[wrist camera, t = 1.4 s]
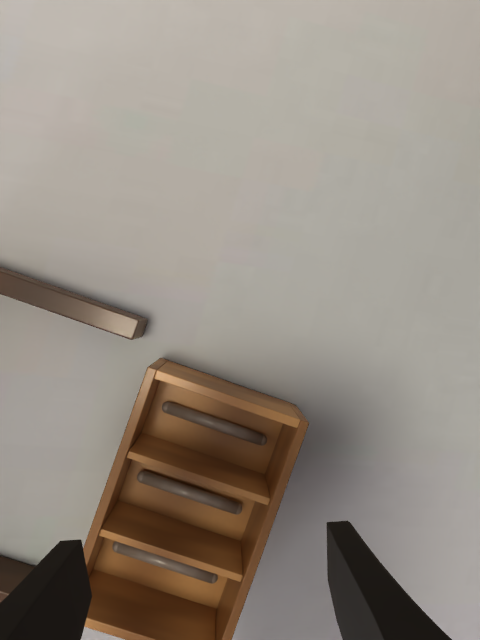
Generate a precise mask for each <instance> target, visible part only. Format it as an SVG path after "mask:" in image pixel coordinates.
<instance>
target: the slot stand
mask: <svg viewBox="0 0 480 640" xmlns="http://www.w3.org/2000/svg"><path fill="white" fill-rule="evenodd" d="M0 294H2V295H5V296H8V297H10V298H13V299H16V300H19V301H22V302H25V303H28V304H30V305H33V306H36V307H39V308H42V309H45V310H48V311H50V312H53V313H56V314H59V315H62V316H65V317H68V318H70V319H73V320H76V321H79V322H82V323H85V324H88V325H90V326H93V327H96V328H99V329H102V330H105V331H108V332H110V333H113V334H116V335H119V336H122V337H125V338H128V339H130V340H133V339H136V338H140V337H142V335H143V332H144V329H145V326H146V324H147V321H148V319H146V318H143V317H140V316H138V315H135V314H132V313H129V312H126V311H123V310H121V309H118V308H115V307H112V306H109V305H106V304H104V303H101V302H98V301H95V300H92V299H89V298H87V297H84V296H81V295H78V294H75V293H72V292H70V291H67V290H64V289H61V288H58V287H55V286H53V285H50V284H47V283H44V282H41V281H38V280H36V279H33V278H30V277H27V276H24V275H21V274H19V273H16V272H13V271H10V270H7V269H4V268H2V267H0ZM34 568H35V567H34V566H31V565H28V564H25V563H22V562H19V561H15V560H12V559H9V558H6V557H3V556H0V603H1V602H2V601H3V600H4V599H5V598H6V597H7V596H8V595H9V594H10V593H11V592H12V591H13V590H14V589H15V588H16V587H17V586H18V585H19V584H20V583H21V581H22V580H23V579H24V578H25V577H26V576H27V575H28V574H29V573H30V572H31V571H32V570H33V569H34Z"/></svg>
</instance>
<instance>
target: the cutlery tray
mask: <svg viewBox="0 0 480 640" xmlns="http://www.w3.org/2000/svg"><path fill="white" fill-rule="evenodd" d="M308 425H309V422H308V421H307V420H306V418H305V417H304V416H303V414H302V413H301V411H300V410H299V409H298V407H297V406H296V405H294V404H292V403H289V402H286V401H283V400H280V399H277V398H274V397H271V396H269V395H266V394H263V393H260V392H257V391H254V390H251V389H249V388H246V387H243V386H240V385H237V384H234V383H231V382H229V381H226V380H223V379H220V378H217V377H214V376H211V375H208V374H206V373H203V372H200V371H197V370H194V369H191V368H188V367H186V366H183V365H180V364H177V363H174V362H171V361H168V360H166V359H163V358H160V359H158V360H157V361H156V362H154V363H153V364H151V365H150V366H149V367H148V368H147V370H146V373H145V376H144V379H143V382H142V385H141V387H140V390H139V393H138V396H137V399H136V401H135V404H134V407H133V410H132V413H131V416H130V418H129V421H128V424H127V427H126V430H125V432H124V435H123V438H122V441H121V444H120V446H119V449H118V452H117V455H116V458H115V461H114V463H113V466H112V469H111V472H110V475H109V477H108V480H107V483H106V486H105V489H104V492H103V494H102V497H101V500H100V503H99V506H98V508H97V511H96V514H95V517H94V520H93V523H92V525H91V528H90V531H89V534H88V537H87V539H86V542H85V545H84V548H83V552H84V557H85V562H86V567H87V572H88V577H89V582H90V587H91V592H92V599H91V603H90V607H89V611H88V614H87V618H86V622H85V625H84V627H88V628H91V629H94V630H97V631H100V632H103V633H107V634H110V635H113V636H116V637H119V638H122V639H125V640H231V639H232V637H233V634H234V631H235V628H236V625H237V623H238V620H239V617H240V614H241V612H242V609H243V606H244V603H245V600H246V598H247V595H248V592H249V589H250V586H251V584H252V581H253V578H254V575H255V573H256V570H257V567H258V564H259V561H260V559H261V556H262V553H263V550H264V547H265V545H266V542H267V539H268V536H269V533H270V531H271V528H272V525H273V522H274V520H275V517H276V514H277V511H278V508H279V506H280V503H281V500H282V497H283V494H284V492H285V489H286V486H287V483H288V481H289V478H290V475H291V472H292V469H293V467H294V464H295V461H296V458H297V455H298V453H299V450H300V447H301V444H302V442H303V439H304V436H305V433H306V430H307V428H308Z"/></svg>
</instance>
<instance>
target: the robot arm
mask: <svg viewBox="0 0 480 640" xmlns="http://www.w3.org/2000/svg"><path fill="white" fill-rule="evenodd" d="M327 560H328V582H329V587H330V592H331V597H332V601H333V606H334V610H335V615H336V619H337V623H338V626H339V629H340V632H341V635H342V639H343V640H452V639H451V638H450V637H449V636H448V635H446V634H445V633H444V632H443V631H442V630H441V629H440V628H439V627H438V626H437V625H436V624H435V623H434V622H433V621H432V620H431V619H430V618H429V617H428V616H427V615H426V613H425V612H424V611H423V610H422V609H421V608H420V607H419V606H418V605H417V604H416V603H415V602H414V601H413V600H412V599H411V597H410V596H409V595H408V594H407V593H406V592H405V591H404V590H403V589H402V587H401V586H400V585H399V584H398V583H397V582H396V580H395V579H394V578H393V577H392V576H391V575H390V573H389V572H388V571H387V570H386V569H385V567H384V566H383V565H382V564H381V563H380V561H379V560H378V559H377V558H376V556H375V555H374V554H373V553H372V551H371V550H370V549H369V547H368V546H367V545H366V543H365V542H364V541H363V539H362V538H361V537H360V535H359V534H358V533H357V531H356V530H355V529H354V527H353V526H352V524H351V523H350V522H348V521H339V522H327ZM91 599H92V592H91V587H90V582H89V577H88V572H87V567H86V562H85V557H84V552H83V547H82V542H81V540H69V541H60V542H59V543H58V544H57V545H56V546H55V547H54V548H53V549H52V550H51V551H50V552H49V553H48V554H47V555H46V556H45V557H44V558H43V560H42V561H41V562H40V563H39V564H38V565H37V566H36V567H35V568H34V569H33V570H32V571H31V572H30V573H29V574H28V575H27V576H26V577H25V578H24V579H23V580H22V581H21V583H20V584H19V585H18V586H17V587H16V588H15V589H14V590H13V591H12V592H11V593H10V594H9V595H8V596H7V597H6V598H5V599H4V600H3V601H2V602H1V603H0V640H80V639H81V636H82V633H83V629H84V625H85V622H86V618H87V614H88V611H89V607H90V603H91Z"/></svg>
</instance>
